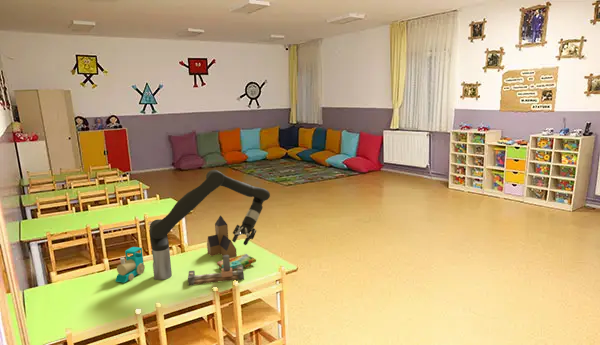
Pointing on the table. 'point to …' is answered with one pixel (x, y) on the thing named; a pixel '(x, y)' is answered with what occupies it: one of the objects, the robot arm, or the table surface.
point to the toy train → (130, 265)
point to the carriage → (226, 267)
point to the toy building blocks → (221, 241)
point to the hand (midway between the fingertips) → (239, 243)
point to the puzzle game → (238, 261)
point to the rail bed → (214, 277)
